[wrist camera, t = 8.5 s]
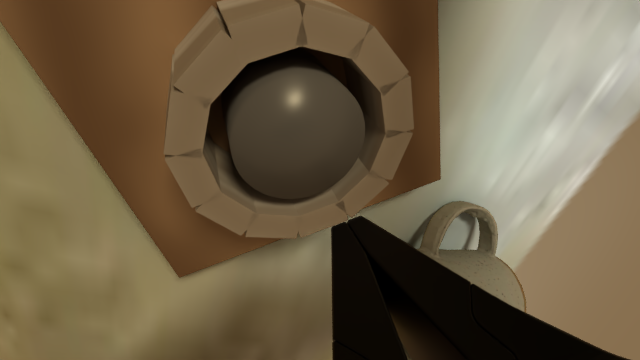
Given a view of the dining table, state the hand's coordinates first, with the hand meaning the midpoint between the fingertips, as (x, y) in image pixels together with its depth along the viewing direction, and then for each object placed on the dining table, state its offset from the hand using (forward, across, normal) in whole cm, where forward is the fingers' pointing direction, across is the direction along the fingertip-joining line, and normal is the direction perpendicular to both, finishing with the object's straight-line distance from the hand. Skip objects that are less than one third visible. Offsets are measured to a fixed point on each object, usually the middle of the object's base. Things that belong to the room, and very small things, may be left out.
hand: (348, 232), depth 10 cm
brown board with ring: (+11, 0, 0) cm, 11 cm away
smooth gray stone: (+9, 0, 0) cm, 9 cm away
